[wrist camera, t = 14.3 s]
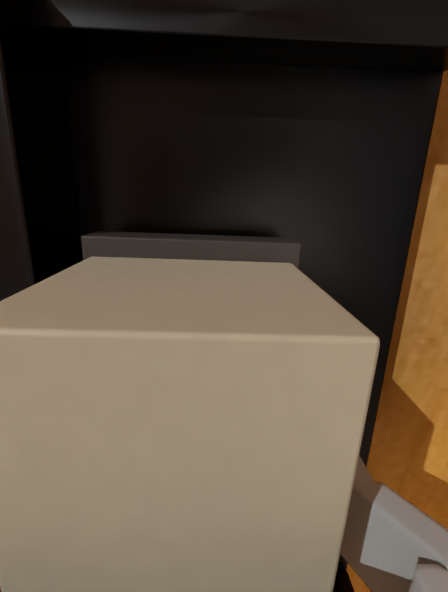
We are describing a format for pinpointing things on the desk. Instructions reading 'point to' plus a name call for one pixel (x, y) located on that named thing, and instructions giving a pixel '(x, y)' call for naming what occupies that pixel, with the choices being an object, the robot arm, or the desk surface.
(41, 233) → the black open tray
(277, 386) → the stepped beige block
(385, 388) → the desk surface
